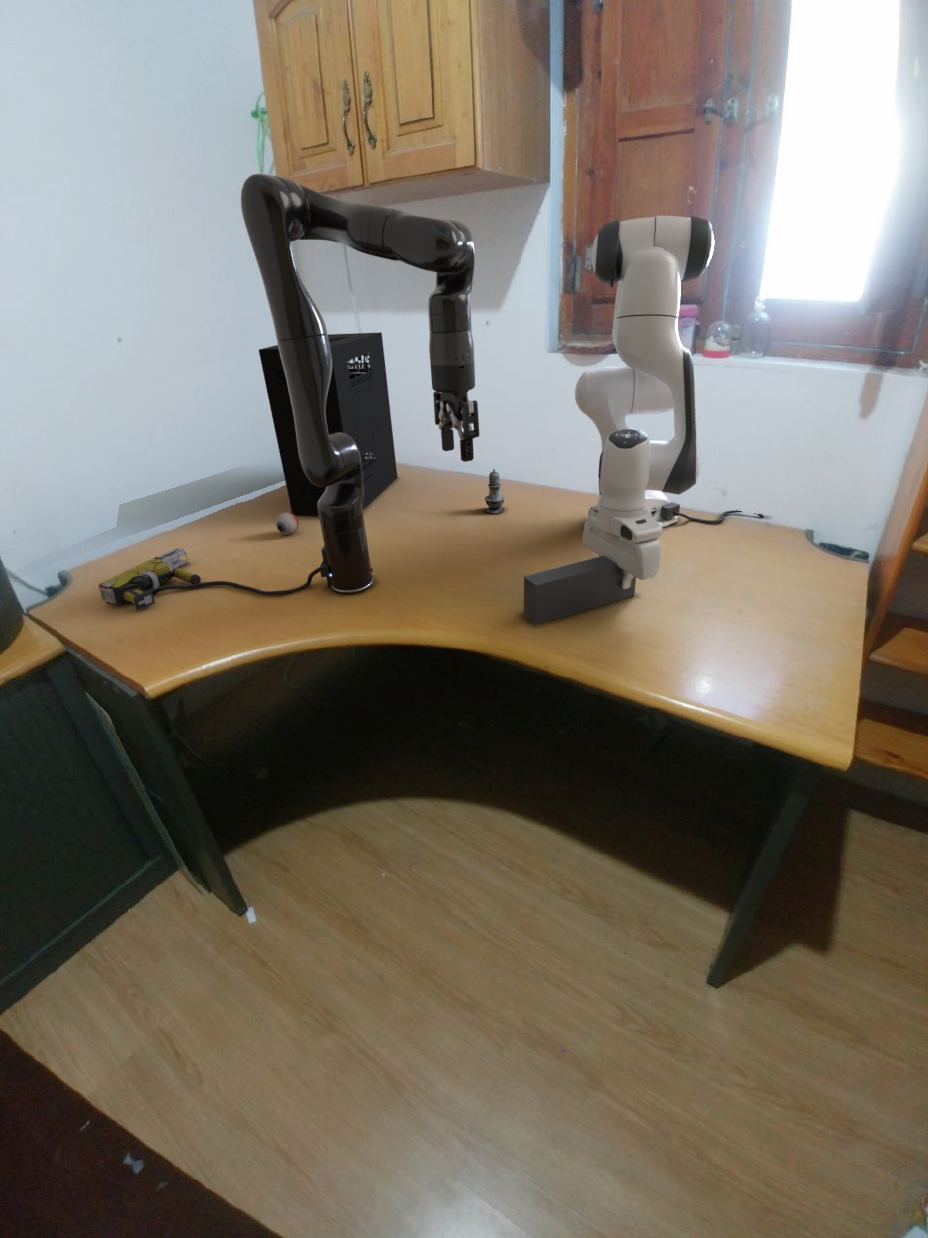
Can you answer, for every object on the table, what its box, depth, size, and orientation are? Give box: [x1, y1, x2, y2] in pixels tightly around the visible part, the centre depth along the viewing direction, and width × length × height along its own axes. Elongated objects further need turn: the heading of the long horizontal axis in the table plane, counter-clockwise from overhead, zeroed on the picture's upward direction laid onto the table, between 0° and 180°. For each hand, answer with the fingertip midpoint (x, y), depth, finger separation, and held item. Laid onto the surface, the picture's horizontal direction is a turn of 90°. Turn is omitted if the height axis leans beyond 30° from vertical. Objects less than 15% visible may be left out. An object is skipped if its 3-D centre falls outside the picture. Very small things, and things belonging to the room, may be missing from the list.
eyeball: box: [275, 511, 300, 536], centre depth 163 cm, size 6×6×6 cm
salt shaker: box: [484, 468, 506, 514], centre depth 170 cm, size 6×6×12 cm
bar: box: [523, 556, 637, 626], centre depth 120 cm, size 24×5×9 cm, turn 115°
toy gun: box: [98, 547, 202, 611], centre depth 139 cm, size 5×24×15 cm
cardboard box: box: [258, 332, 398, 517], centre depth 181 cm, size 38×20×45 cm, turn 167°
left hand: (457, 455), depth 110 cm, fingers open, 8 cm apart
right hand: (615, 581), depth 124 cm, fingers closed on bar, 4 cm apart
